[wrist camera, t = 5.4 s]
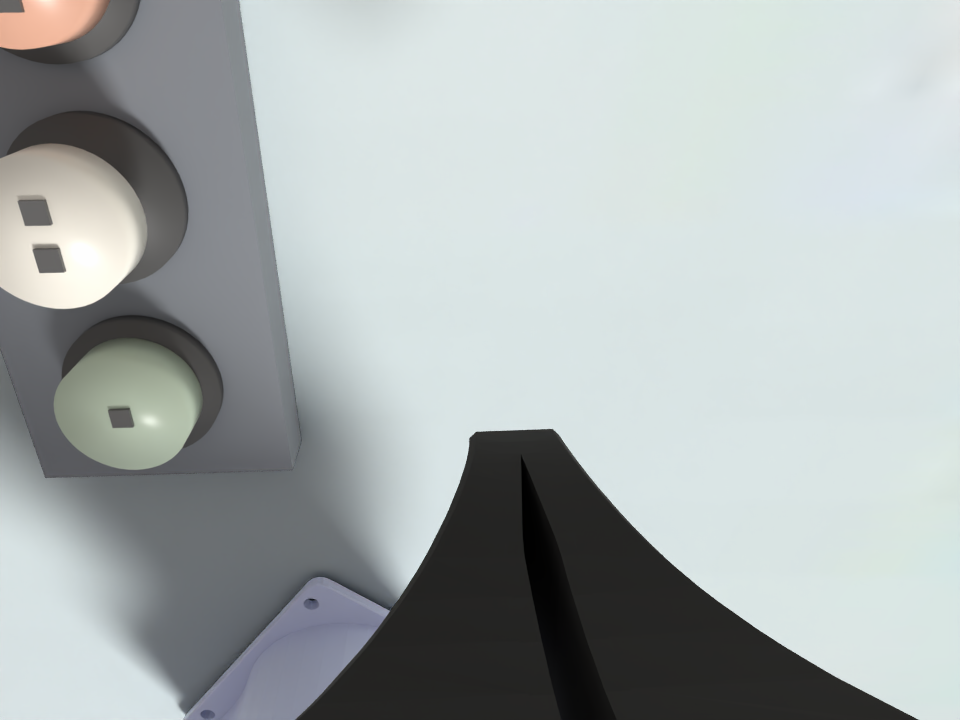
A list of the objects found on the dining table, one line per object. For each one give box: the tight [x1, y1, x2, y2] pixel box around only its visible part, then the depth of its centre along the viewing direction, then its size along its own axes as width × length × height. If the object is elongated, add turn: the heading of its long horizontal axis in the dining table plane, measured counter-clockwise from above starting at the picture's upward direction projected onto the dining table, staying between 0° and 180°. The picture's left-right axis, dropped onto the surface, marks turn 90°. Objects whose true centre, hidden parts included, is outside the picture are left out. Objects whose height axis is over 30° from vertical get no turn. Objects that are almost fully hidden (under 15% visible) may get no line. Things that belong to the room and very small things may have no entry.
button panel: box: [0, 0, 301, 478], centre depth 18 cm, size 16×7×2 cm, turn 0°
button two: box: [0, 143, 147, 309], centre depth 15 cm, size 3×3×1 cm
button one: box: [54, 338, 203, 470], centre depth 18 cm, size 3×3×1 cm
